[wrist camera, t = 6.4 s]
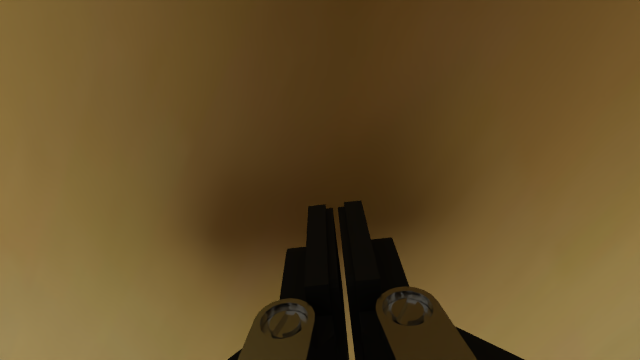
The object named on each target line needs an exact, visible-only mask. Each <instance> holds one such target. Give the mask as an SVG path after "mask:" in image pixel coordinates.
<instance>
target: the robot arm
mask: <svg viewBox="0 0 640 360" xmlns="http://www.w3.org/2000/svg"><path fill="white" fill-rule="evenodd" d="M338 213H339V222H340V231H341V240H342V249H343V258H344V267H345V277H346V285H347V294H348V302H349V311H350V319H351V328H352V336H353V344H354V353H355V360H524V359H522V358H520V357H518V356H516V355H514V354H512V353H509V352H507V351H505V350H503V349H501V348H499V347H497V346H495V345H493V344H491V343H489V342H486V341H484V340H482V339H480V338H478V337H476V336H474V335H472V334H470V333H468V332H466V331H464V330H461V329H459V328H457V327H455V326H454V325H453V323H452V322H451V320H450V319H449V317H448V316H447V314H446V313H445V311H444V310H443V308H442V307H441V305H440V304H439V302H438V301H437V300H436V299H435V298H434V297H433V296H432V295H431V294H430V293H428V292H426V291H425V290H422V289H419V288H415V287H409V284H408V282H407V279H406V276H405V273H404V270H403V267H402V265H401V262H400V259H399V256H398V253H397V250H396V248H395V245H394V242H393V239H392V238H382V239H372V240H371V238H370V234H369V230H368V226H367V222H366V218H365V214H364V210H363V206H362V202H361V200H360V201H351V202H344V207H338ZM228 360H349V354H348V343H347V332H346V322H345V311H344V300H343V289H342V280H341V272H340V264H339V256H338V248H337V240H336V232H335V224H334V216H333V208H329V209H326V205H316V206H309V207H308V223H307V241H306V247H299V248H290V249H287V252H286V259H285V266H284V273H283V280H282V287H281V294H280V300H278V301H275V302H272V303H270V304H269V305H267V306H265V307H264V308H263V309H262V310H261V311H260V312H259V313H258V314H257V316H256V317H255V319H254V321H253V324H252V326H251V329H250V331H249V333H248V336H247V338H246V341H245V343H244V345H243V348H242V349H241V350H239V351H238V352H237V353H236V354H234V355H233V356H232V357H230V358H229V359H228Z"/></svg>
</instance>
